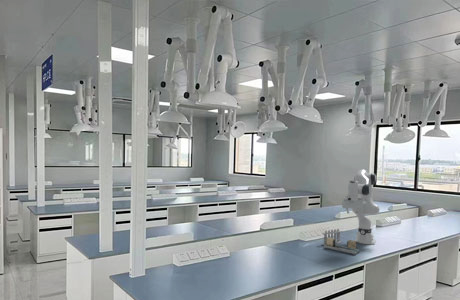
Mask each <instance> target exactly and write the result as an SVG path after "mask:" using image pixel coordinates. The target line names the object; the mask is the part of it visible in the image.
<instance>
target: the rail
mask: <svg viewBox="0 0 460 300" xmlns="http://www.w3.org/2000/svg"><path fill="white" fill-rule="evenodd" d="M323 248H324V249H325V250H330V251H335V252H338V253H343V254H347V255H353V256H356V255H358V254H359V253H360V249H357V248H356V249H353V248H349V247H347V246H345V245H344V246H343V245H338V244H335V239H334V237H333V238H331V237H330V238H329V237H328V236H327V245H323Z"/></svg>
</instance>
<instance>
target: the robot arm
mask: <svg viewBox="0 0 460 300" xmlns="http://www.w3.org/2000/svg"><path fill="white" fill-rule="evenodd" d="M377 181H378V177H377V174H376V173H373V172H372V173H368V171H367V170H365V169H359V170H358V171H357V172H356V173H355V175H354V180H349V181H348V186H347V191H348V193H347V195H346V196H344V197H342V202H341V208H342V209H345V211H346V213H347V214H350V211H349V209H351V211H352V213H354V214H355V215H356V217H357V219H358V228H357V231H358V232H356V238H355V239H354V241H356V243H358V244H364V245H375V244H376V242H377V241H376V240H375V239H374V235H373V233H372V230H373V228H372V221H371V220H370V219H369V218H368V217H366V216H365V215H367V216H377V215H378V214H379V213H380V207H379V206H378V204H376V203H375V202H374V200H373V194H374V193H373V191H374V190H373V186H374V185H375V184H376V183H377ZM359 195H360V197H359Z"/></svg>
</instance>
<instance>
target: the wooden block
mask: <svg viewBox="0 0 460 300" xmlns="http://www.w3.org/2000/svg"><path fill="white" fill-rule="evenodd" d="M346 245H347V246H346V247H349V248H353V249H357V241H355V240H352V239H349V240H347V241H346Z"/></svg>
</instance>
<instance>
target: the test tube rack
mask: <svg viewBox="0 0 460 300" xmlns="http://www.w3.org/2000/svg"><path fill="white" fill-rule="evenodd" d="M342 232H343V231H341V230H339V228H337V229H331V230H330V229H329V230H328V231H327V230H325V231H324V232H321V234H322V235H323V243H321V245H322V246H324V245H327V238H328V237H329V238H334V239H335V245H337V244H340V243H342V241H341V240H340V238H341V237H340V234H341V233H342Z"/></svg>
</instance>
